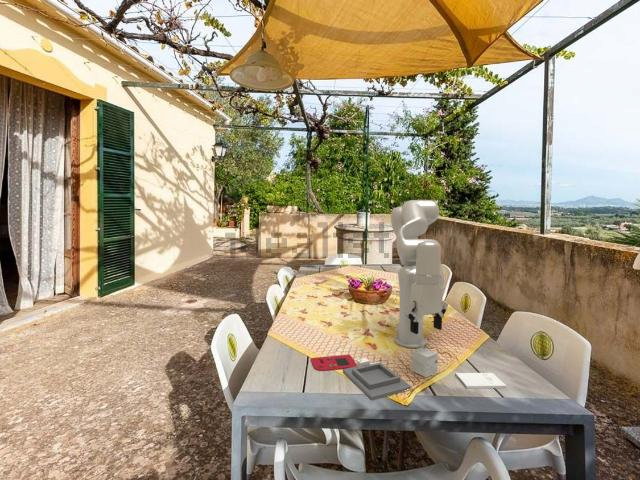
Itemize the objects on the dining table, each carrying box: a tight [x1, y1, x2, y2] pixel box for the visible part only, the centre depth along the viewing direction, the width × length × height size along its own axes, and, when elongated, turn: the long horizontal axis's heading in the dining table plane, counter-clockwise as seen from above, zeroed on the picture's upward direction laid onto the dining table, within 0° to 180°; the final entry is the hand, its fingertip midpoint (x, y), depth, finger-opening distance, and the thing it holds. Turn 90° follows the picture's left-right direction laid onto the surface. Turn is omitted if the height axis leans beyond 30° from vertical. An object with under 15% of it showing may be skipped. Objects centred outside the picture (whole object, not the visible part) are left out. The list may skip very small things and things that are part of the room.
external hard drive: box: [454, 372, 507, 390], centre depth 109 cm, size 2×8×12 cm
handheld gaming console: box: [310, 354, 357, 372], centre depth 121 cm, size 10×1×15 cm
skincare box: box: [411, 346, 439, 378], centre depth 114 cm, size 6×6×7 cm
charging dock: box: [342, 357, 412, 401], centre depth 109 cm, size 18×14×4 cm
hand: (426, 330), depth 113 cm, fingers open, 9 cm apart
